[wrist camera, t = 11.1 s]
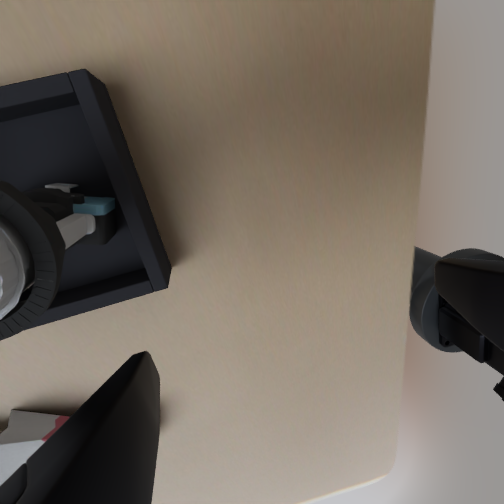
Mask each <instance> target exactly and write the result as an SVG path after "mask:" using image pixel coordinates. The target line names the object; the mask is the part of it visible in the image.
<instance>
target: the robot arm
mask: <svg viewBox="0 0 504 504" xmlns="http://www.w3.org/2000/svg"><path fill="white" fill-rule="evenodd" d="M434 268H435V287H436V290H437V291H438V304H439V344H440V345H442V346H443V347H445V348H446V347H450V346H453V345H456V346H457V347H459V348H460V349H461V350H463V351H464V352H466V353H467V354H468V355H470V356H471V357H473V358H474V359H475V360H477V361H478V362H480V363H484V362H485V363H487V364H488V365H489V366H491V367H492V368H494V369H495V370H497V371H498V372H499V373H501V374H502V375H503V376H504V261H494V260H478V259H463V258H446V259H443V260H440V261H437V262H436V263H435V267H434ZM493 390H494V391H495V392H496V393H497V394H498V395H499V396H500V397H501V398H502V400H503V401H504V377H503V378H502V380H501V381H500V383H499V384H498V383H497V384H496V386H495V387H494V389H493ZM159 431H160V377H159V373H158V371H157V369H156V366H155V364H154V362H153V360H152V357H151V355H150V354H149V352H147V351H144V352H140V353H137V354H134V355H132V356H131V357H130V358H129V359H128V360H127V361H126V362H125V363H124V364H123V365H122V366H121V367H120V368H119V369H118V370H117V371H116V372H115V373H114V374H113V375H112V376H111V377H110V378H109V379H108V380H107V381H106V382H105V383H104V384H103V385H102V386H101V387H100V388H99V389H98V390H97V391H96V392H95V393H94V394H93V395H92V396H91V397H90V398H89V399H88V400H87V401H86V402H85V403H84V404H83V405H82V406H81V407H80V408H79V409H78V410H77V411H76V412H75V413H74V414H73V415H72V416H71V417H70V418H69V419H68V420H67V421H66V422H65V423H64V424H63V425H62V426H61V427H60V428H58V429H57V430H56V431H55V432H54V433H53V434H52V435H51V436H50V437H49V438H48V439H47V440H46V441H45V442H44V443H43V444H42V445H41V446H40V447H39V448H38V449H37V450H36V451H35V452H34V453H33V454H32V455H31V456H30V457H29V458H28V459H27V461H26V463H23V464H22V465H21V466H20V467H19V468H18V469H17V470H16V471H15V472H14V473H13V474H12V475H11V476H10V477H9V478H8V479H7V480H6V481H5V482H4V483H3V484H2V485H1V486H0V504H151V502H152V494H153V485H154V477H155V468H156V460H157V451H158V443H159Z"/></svg>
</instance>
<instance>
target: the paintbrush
mask: <svg viewBox="0 0 504 504" xmlns="http://www.w3.org/2000/svg"><path fill="white" fill-rule="evenodd" d="M69 418H70V417H69V416H60V415H52V414H43V413H34V412H26V411H17V410H11V413H10V418H9V423H8V428H7V429H5V430H4V431H3V432H2V433H0V486H1V485H2V484H3V483H4V482H5V481H6V480H7V479H8V478H9V477H10V476H11V475H12V474H13V473H14V472H15V471H16V470H17V469H18V468H19V467H20V466H21V465H22V464H23V463H26V461H27V459H28V458H29V457H30V456H31V455H32V454H33V453H34V452H35V451H36V450H37V449H38V448H39V447H40V446H41V445H42V444H43V443H44V442H45V441H46V440H47V439H48V438H49V437H50V436H51V435H52V434H53V433H54V432H55V431H56V430H57V429H58V428H60V427H61V426H62V425H63V424H64V423H65V422H66V421H67V420H68V419H69Z"/></svg>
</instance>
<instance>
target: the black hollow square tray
mask: <svg viewBox="0 0 504 504" xmlns="http://www.w3.org/2000/svg"><path fill="white" fill-rule="evenodd" d="M0 180H1V181H5V182H8V183H10V184H11V185H13V186H14V187H15V188H17V189H18V190H19V191H20V192H24V191H27V190H32V189H37V188H45V185H49V184H54V183H67V184H77V185H79V186H77V187H74V188H70V193H81V194H84V196H87V197H101V198H103V197H110V198H115V212H116V235H115V236H114V237H113V238H112V239H111V240H110V241H109V242H108V243H107V244H105V245H81V244H76V245H74V246H73V247H72V248H70V249H69V250H67V251H65V255H64V261H63V267H62V274H61V280H60V285H59V288H58V291H57V293H56V296H55V298H54V300H53V301H52V303H51V304H50V306H49V307H48V308H47V310H46V311H45V312H44V313H43V314H42V315H41V316H40V317H39V318H38V319H37V320H36V321H35V322H34V323H33V324H32V325H30V326H29V327H28V328H26V329H25V330H27V329H30V328H34V327H37V326H40V325H44V324H47V323H51V322H54V321H57V320H61V319H64V318H68V317H71V316H74V315H78V314H81V313H85V312H88V311H91V310H95V309H98V308H102V307H105V306H108V305H112V304H115V303H119V302H122V301H125V300H129V299H132V298H136V297H139V296H142V295H146V294H149V293H153V292H154V291H155V292H156V291H159V290H163V289H166V288H168V284H169V279H170V274H171V269H172V268H171V265H170V262H169V259H168V257H167V254H166V251H165V248H164V246H163V243H162V240H161V237H160V235H159V232H158V229H157V226H156V224H155V221H154V218H153V215H152V212H151V210H150V207H149V204H148V201H147V199H146V196H145V193H144V190H143V188H142V185H141V182H140V179H139V177H138V174H137V171H136V168H135V166H134V163H133V160H132V157H131V155H130V152H129V149H128V146H127V144H126V141H125V138H124V135H123V132H122V130H121V127H120V124H119V121H118V119H117V116H116V113H115V110H114V108H113V105H112V102H111V99H110V97H109V94H108V91H107V88H106V86H105V84H104V83H103V82H101V81H100V80H99V79H97V78H96V77H95V76H94V75H92V74H91V73H90V72H89V71H87V70H86V69H80V70H76V71H71V72H69V73H66V72H65V73H61V74H56V75H51V76H47V77H42V78H37V79H33V80H28V81H23V82H19V83H14V84H9V85H5V86H0ZM33 285H34V283H33V284H32V285H31V286H30V287H29V288H27V289H26V290H25V291H24V292H22V293H21V296H20V299H19V302H21V301H24V300H26V299H28V298H29V296H30V294H31V292H32V289H33Z"/></svg>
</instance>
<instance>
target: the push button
mask: <svg viewBox="0 0 504 504" xmlns="http://www.w3.org/2000/svg"><path fill="white" fill-rule="evenodd" d="M77 186H79V185H77V184H67V183H54V184H49V185H45V188H37V189H32V190H27V191H24V192H20V191H19V190H18V189H17V188H15V187H14V186H13V185H11V184H10V183H8V182H5V181H1V180H0V340H3V339H6V338H9V337H11V336H13V335H15V334H18V333H20V332H21V331H23V330H25V329H26V328H28V327H29V326H30V325H32V324H33V323H34V322H35V321H36V320H37V319H38V318H39V317H40V316H41V315H42V314H43V313H44V312H45V311H46V310H47V308H48V307H49V306H50V304H51V303H52V301H53V300H54V298H55V296H56V293H57V291H58V288H59V285H60V280H61V274H62V267H63V261H64V255H65V251H67V250H69V249H70V248H72V247H73V246H74V245H76V244H81V245H105V244H107V243H108V242H109V241H110V240H111V239H112V238H113V237H114V236H115V235H116V212H115V198H110V197H103V198H101V197H87V196H84V194H81V193H70V188H74V187H77ZM33 283H34V285H33V289H32V292H31V294H30V296H29V298H28V299H26V300H24V301H21V302H19V299H20V296H21V293H22V292H24V291H25V290H26V289H27V288H29V287H30V286H31V285H32V284H33Z"/></svg>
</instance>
